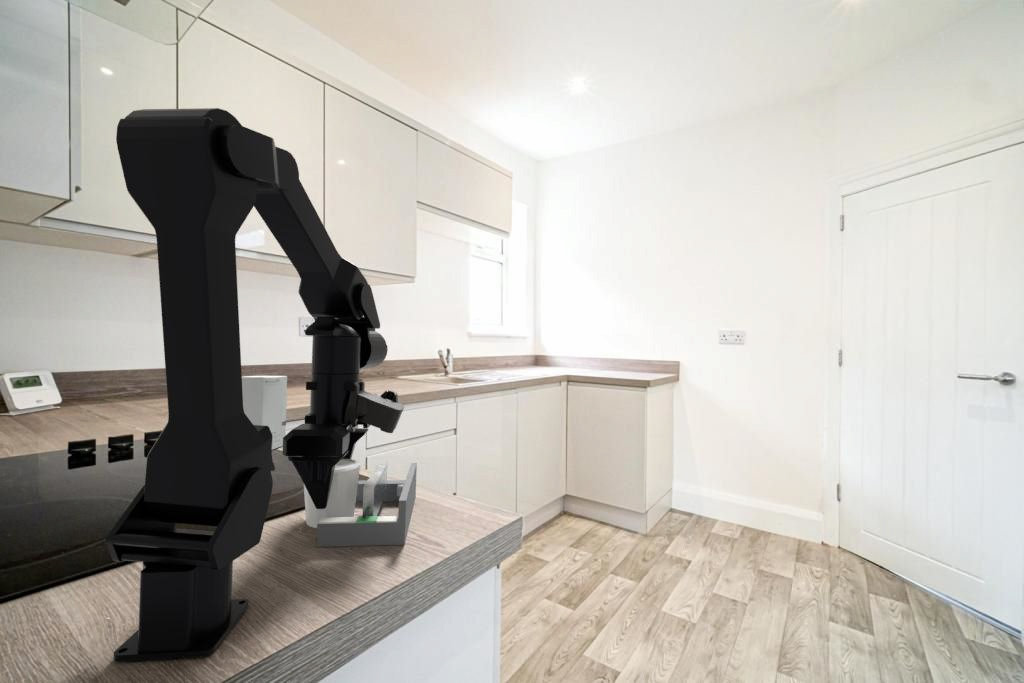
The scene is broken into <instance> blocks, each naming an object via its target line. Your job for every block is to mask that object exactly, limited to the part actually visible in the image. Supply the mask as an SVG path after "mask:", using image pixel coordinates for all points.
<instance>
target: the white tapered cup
mask: <svg viewBox="0 0 1024 683" xmlns="http://www.w3.org/2000/svg"><path fill="white" fill-rule="evenodd" d="M360 470H361V463H360V461H358V460H355V459H352V458H351V459H341V460H340V461H339V462H338V463H337V464H336V465H335V469H334V474H333V479H332V484H331V489H330V494H329V499H328V503H327V507H326V508H325V509H316V507H315V505H314V503H313V501H312V499H311V497H310V495H309V493H308V491H307V489H306V487H305V485H304V484H303V492H304V495H303V496H304V509H305V524H306V525H307V526H309V527H310V528H314V529H317V524H318V521H319V520H320V518H321V517H355V511H356V510H355V508H356V503H357V502H356V495H357V487H358V480H359V478H360V477H359V476H360Z"/></svg>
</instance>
